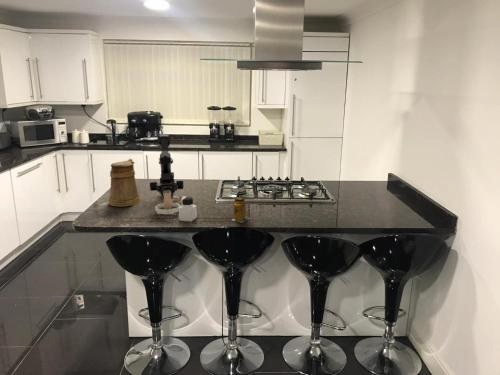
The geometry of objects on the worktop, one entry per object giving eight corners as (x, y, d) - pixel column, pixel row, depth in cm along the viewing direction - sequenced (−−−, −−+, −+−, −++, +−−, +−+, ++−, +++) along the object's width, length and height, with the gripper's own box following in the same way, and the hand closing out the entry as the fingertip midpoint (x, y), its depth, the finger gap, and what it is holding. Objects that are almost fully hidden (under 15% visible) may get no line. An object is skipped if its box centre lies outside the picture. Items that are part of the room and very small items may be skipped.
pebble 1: (171, 201, 258) (171, 196, 257) (173, 199, 261) (173, 195, 260) (176, 201, 258) (175, 196, 257) (178, 200, 260) (177, 195, 260)
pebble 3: (180, 201, 258) (180, 196, 257) (182, 199, 261) (182, 195, 260) (184, 201, 257) (184, 196, 256) (186, 200, 260) (186, 195, 259)
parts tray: (167, 203, 256) (167, 199, 255) (173, 200, 263) (173, 195, 263) (183, 204, 254) (183, 200, 253) (188, 201, 261) (188, 196, 260)
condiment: (230, 220, 228) (230, 198, 224) (241, 216, 234) (241, 195, 231) (241, 223, 223) (240, 201, 220) (251, 218, 229) (251, 197, 226)
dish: (152, 214, 238) (151, 208, 237) (162, 206, 250) (162, 202, 249) (174, 215, 235) (174, 210, 234) (183, 208, 247) (183, 203, 246)
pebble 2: (174, 202, 256) (174, 197, 255) (176, 201, 258) (176, 196, 258) (179, 202, 255) (179, 198, 254) (181, 201, 258) (181, 196, 257)
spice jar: (162, 209, 242) (161, 190, 239) (168, 207, 245) (167, 189, 242) (167, 210, 239) (166, 192, 236) (173, 208, 242) (172, 190, 239)
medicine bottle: (196, 217, 231) (196, 196, 228) (191, 221, 225) (190, 200, 222) (185, 216, 234) (184, 195, 231) (178, 220, 227) (177, 198, 224)
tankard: (103, 207, 250) (99, 165, 243) (120, 196, 272) (117, 157, 266) (133, 208, 248) (129, 166, 241) (147, 197, 270) (145, 158, 264)
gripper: (148, 168, 238) (149, 192, 230) (182, 166, 241) (184, 190, 234) (150, 178, 247) (150, 202, 240) (182, 176, 251) (184, 200, 243)
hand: (167, 198), depth 239 cm, fingers closed on spice jar, 4 cm apart
